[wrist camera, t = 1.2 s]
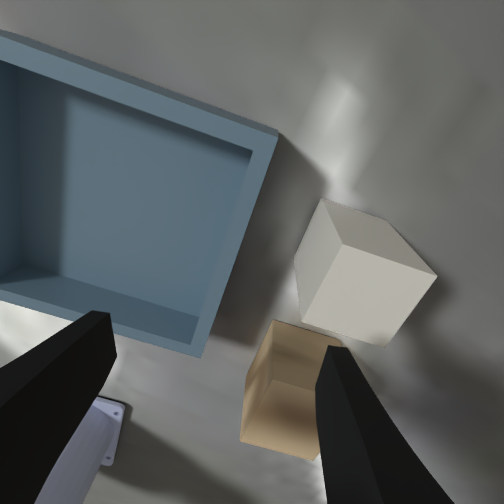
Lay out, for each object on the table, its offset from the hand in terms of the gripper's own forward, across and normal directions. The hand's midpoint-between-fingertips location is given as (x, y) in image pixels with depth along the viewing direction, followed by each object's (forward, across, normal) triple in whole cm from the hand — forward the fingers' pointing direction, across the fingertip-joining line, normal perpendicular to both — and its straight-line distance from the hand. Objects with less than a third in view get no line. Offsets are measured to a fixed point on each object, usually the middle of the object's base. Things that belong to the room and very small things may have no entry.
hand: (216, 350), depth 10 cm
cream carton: (+9, -5, 0) cm, 11 cm away
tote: (+9, +7, -1) cm, 11 cm away
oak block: (+9, -4, +10) cm, 14 cm away
